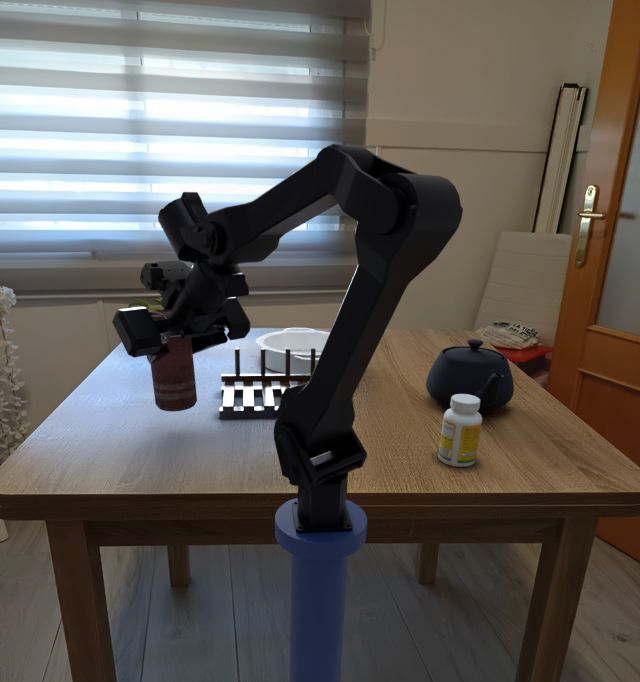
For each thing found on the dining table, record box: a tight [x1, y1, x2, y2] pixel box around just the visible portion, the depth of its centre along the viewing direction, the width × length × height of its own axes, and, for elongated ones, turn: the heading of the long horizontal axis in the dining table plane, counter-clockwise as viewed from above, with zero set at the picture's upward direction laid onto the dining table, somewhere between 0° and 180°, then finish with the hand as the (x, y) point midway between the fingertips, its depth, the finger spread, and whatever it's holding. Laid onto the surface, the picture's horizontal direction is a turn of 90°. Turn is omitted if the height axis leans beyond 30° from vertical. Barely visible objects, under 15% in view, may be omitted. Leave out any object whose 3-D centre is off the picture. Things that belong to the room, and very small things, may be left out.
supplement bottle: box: [438, 394, 483, 468], centre depth 82 cm, size 5×5×10 cm
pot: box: [255, 327, 330, 374], centre depth 128 cm, size 29×22×5 cm
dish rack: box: [218, 347, 316, 420], centre depth 101 cm, size 14×20×9 cm
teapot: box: [425, 338, 515, 415], centre depth 103 cm, size 25×16×12 cm, turn 5°
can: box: [148, 308, 198, 412], centre depth 83 cm, size 6×6×14 cm
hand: (167, 357), depth 85 cm, fingers closed on can, 5 cm apart
